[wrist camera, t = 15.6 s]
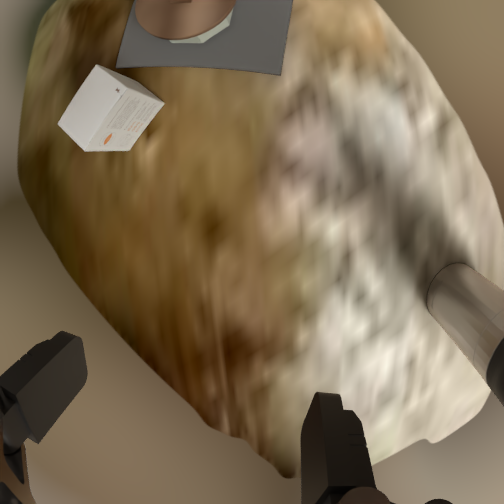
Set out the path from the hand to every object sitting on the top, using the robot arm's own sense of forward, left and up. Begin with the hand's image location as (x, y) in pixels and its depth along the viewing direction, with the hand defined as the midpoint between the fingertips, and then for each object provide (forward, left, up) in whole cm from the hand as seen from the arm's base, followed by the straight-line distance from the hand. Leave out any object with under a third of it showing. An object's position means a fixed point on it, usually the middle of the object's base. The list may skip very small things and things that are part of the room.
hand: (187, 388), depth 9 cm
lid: (+12, -26, -25) cm, 38 cm away
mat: (+11, -25, -30) cm, 41 cm away
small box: (+18, -11, -30) cm, 37 cm away
